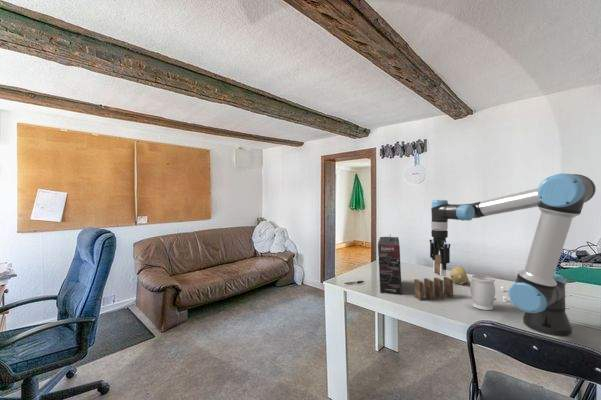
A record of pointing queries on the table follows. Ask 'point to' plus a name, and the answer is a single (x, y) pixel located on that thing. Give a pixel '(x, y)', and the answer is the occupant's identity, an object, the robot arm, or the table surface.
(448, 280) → the domino
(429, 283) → the domino
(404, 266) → the table surface
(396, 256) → the headset box
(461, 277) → the yellow lumpy round lump
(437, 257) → the domino
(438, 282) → the domino
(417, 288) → the domino
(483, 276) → the jar
